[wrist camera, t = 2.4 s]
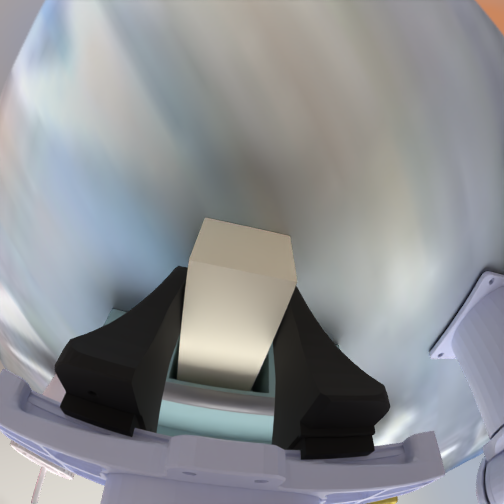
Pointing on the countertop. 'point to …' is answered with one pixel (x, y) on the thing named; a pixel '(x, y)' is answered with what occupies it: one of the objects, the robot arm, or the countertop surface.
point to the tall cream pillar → (233, 303)
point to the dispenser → (217, 404)
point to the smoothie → (57, 394)
